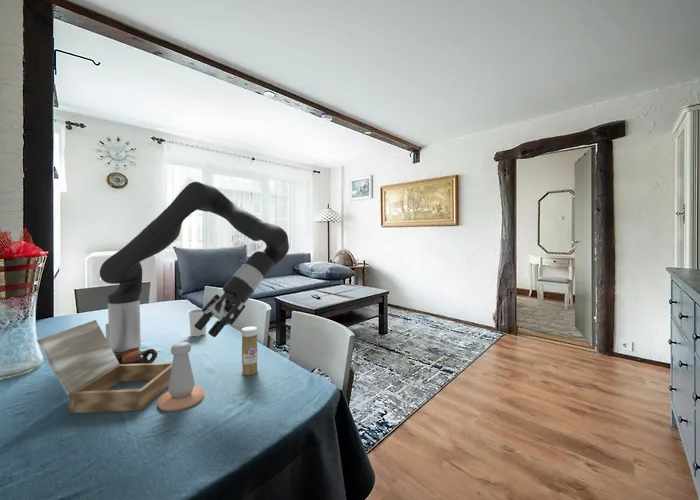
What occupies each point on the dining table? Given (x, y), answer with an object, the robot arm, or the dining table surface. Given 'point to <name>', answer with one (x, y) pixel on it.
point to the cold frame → (100, 372)
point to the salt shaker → (181, 372)
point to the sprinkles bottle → (249, 350)
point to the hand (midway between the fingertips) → (203, 331)
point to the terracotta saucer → (180, 400)
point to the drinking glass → (194, 317)
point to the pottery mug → (136, 356)
